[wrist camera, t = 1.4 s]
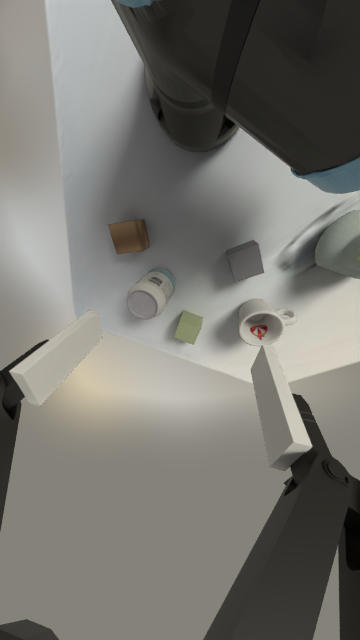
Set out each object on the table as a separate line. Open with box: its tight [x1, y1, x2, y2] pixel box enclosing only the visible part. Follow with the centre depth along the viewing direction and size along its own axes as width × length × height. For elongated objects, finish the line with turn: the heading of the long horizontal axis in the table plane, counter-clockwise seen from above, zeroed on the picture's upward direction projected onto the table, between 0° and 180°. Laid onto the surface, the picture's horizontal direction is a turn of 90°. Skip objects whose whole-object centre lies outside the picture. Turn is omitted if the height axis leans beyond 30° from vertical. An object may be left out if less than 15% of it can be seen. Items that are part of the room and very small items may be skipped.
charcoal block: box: [227, 240, 264, 282], centre depth 33 cm, size 5×5×5 cm
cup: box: [238, 299, 297, 346], centre depth 36 cm, size 11×8×8 cm
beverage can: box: [127, 268, 175, 319], centre depth 35 cm, size 7×7×12 cm
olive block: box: [174, 310, 203, 345], centre depth 42 cm, size 5×5×5 cm
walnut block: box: [108, 219, 150, 254], centre depth 34 cm, size 5×5×5 cm
